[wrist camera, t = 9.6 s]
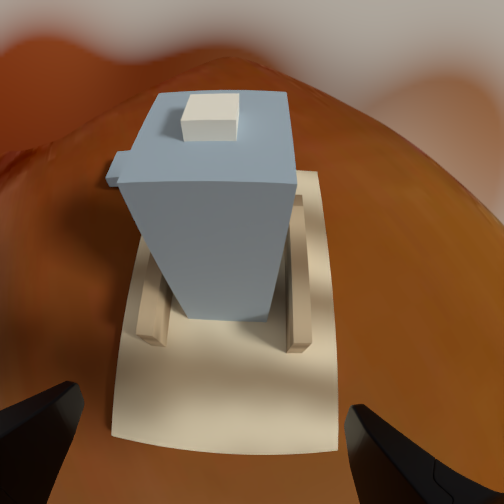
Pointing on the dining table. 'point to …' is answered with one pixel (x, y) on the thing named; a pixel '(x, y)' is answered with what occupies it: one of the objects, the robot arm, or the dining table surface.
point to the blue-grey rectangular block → (215, 197)
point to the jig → (235, 357)
